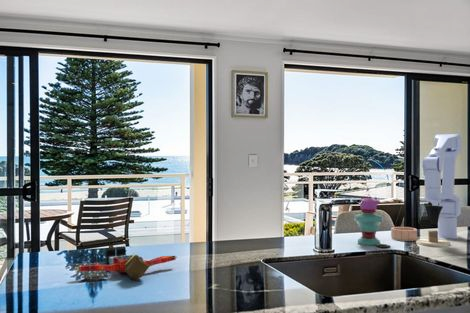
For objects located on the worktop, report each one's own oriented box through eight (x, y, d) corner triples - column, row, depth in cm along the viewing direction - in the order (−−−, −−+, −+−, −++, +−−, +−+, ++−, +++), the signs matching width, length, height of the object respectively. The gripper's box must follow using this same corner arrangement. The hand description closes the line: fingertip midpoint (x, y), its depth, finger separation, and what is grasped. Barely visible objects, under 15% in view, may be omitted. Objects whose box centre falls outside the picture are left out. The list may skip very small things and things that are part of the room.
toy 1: (67, 276, 145) (82, 290, 118) (66, 251, 146) (81, 260, 119) (160, 265, 159) (192, 275, 133) (159, 242, 160) (190, 249, 133)
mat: (415, 241, 183) (415, 240, 183) (447, 243, 180) (447, 241, 180) (418, 247, 172) (418, 246, 172) (452, 249, 168) (452, 247, 168)
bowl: (390, 237, 195) (390, 226, 195) (415, 238, 192) (415, 227, 192) (391, 241, 185) (391, 230, 185) (418, 242, 182) (418, 231, 182)
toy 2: (386, 242, 182) (385, 198, 182) (378, 247, 172) (378, 200, 173) (359, 240, 187) (359, 196, 187) (351, 244, 178) (350, 199, 178)
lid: (415, 240, 183) (415, 228, 183) (447, 242, 180) (447, 229, 180) (418, 246, 172) (418, 233, 172) (452, 247, 168) (452, 234, 168)
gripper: (419, 186, 184) (420, 219, 184) (423, 188, 170) (423, 224, 170) (438, 186, 182) (438, 220, 182) (444, 188, 168) (444, 225, 168)
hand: (433, 222), depth 176 cm, fingers open, 7 cm apart
